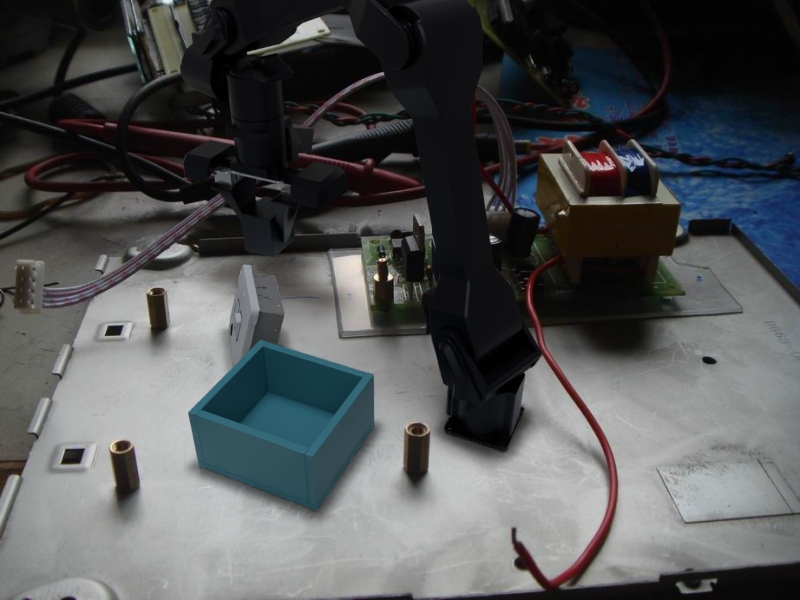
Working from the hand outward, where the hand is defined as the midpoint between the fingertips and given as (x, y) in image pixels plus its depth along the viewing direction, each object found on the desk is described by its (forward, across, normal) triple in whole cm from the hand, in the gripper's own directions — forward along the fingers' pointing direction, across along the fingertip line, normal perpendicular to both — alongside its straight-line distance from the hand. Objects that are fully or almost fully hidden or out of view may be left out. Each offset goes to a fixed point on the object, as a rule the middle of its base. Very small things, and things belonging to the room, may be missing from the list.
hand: (269, 237), depth 91 cm
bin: (+7, -16, +23) cm, 29 cm away
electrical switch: (+7, -5, +12) cm, 15 cm away
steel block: (+1, 0, 0) cm, 1 cm away
